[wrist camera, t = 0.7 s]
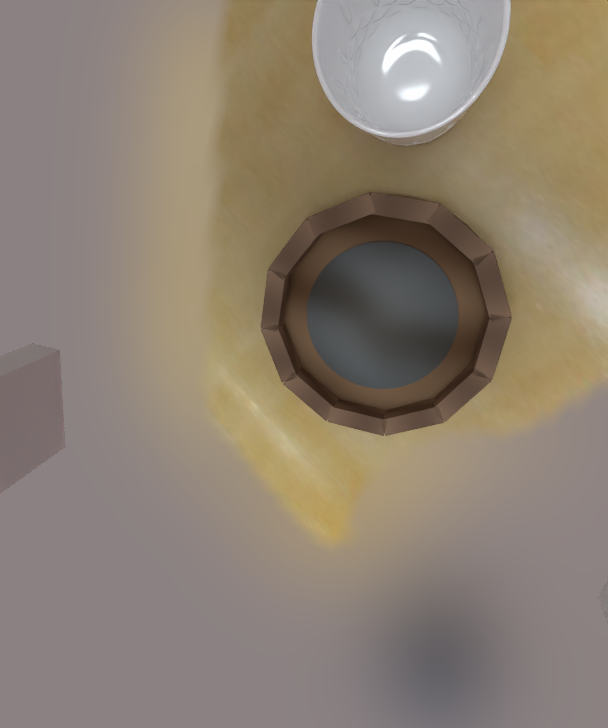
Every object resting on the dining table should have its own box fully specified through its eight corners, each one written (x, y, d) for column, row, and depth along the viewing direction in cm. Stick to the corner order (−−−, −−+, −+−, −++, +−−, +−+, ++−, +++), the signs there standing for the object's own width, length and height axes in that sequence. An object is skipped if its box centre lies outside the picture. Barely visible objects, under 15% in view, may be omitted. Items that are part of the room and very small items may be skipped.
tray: (290, 177, 32) (278, 175, 30) (534, 217, 29) (545, 218, 27) (262, 389, 38) (249, 403, 35) (466, 439, 35) (469, 458, 32)
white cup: (331, 134, 31) (289, 107, 22) (374, -11, 28) (346, -114, 19) (450, 173, 30) (459, 161, 21) (508, 27, 27) (548, -63, 18)
